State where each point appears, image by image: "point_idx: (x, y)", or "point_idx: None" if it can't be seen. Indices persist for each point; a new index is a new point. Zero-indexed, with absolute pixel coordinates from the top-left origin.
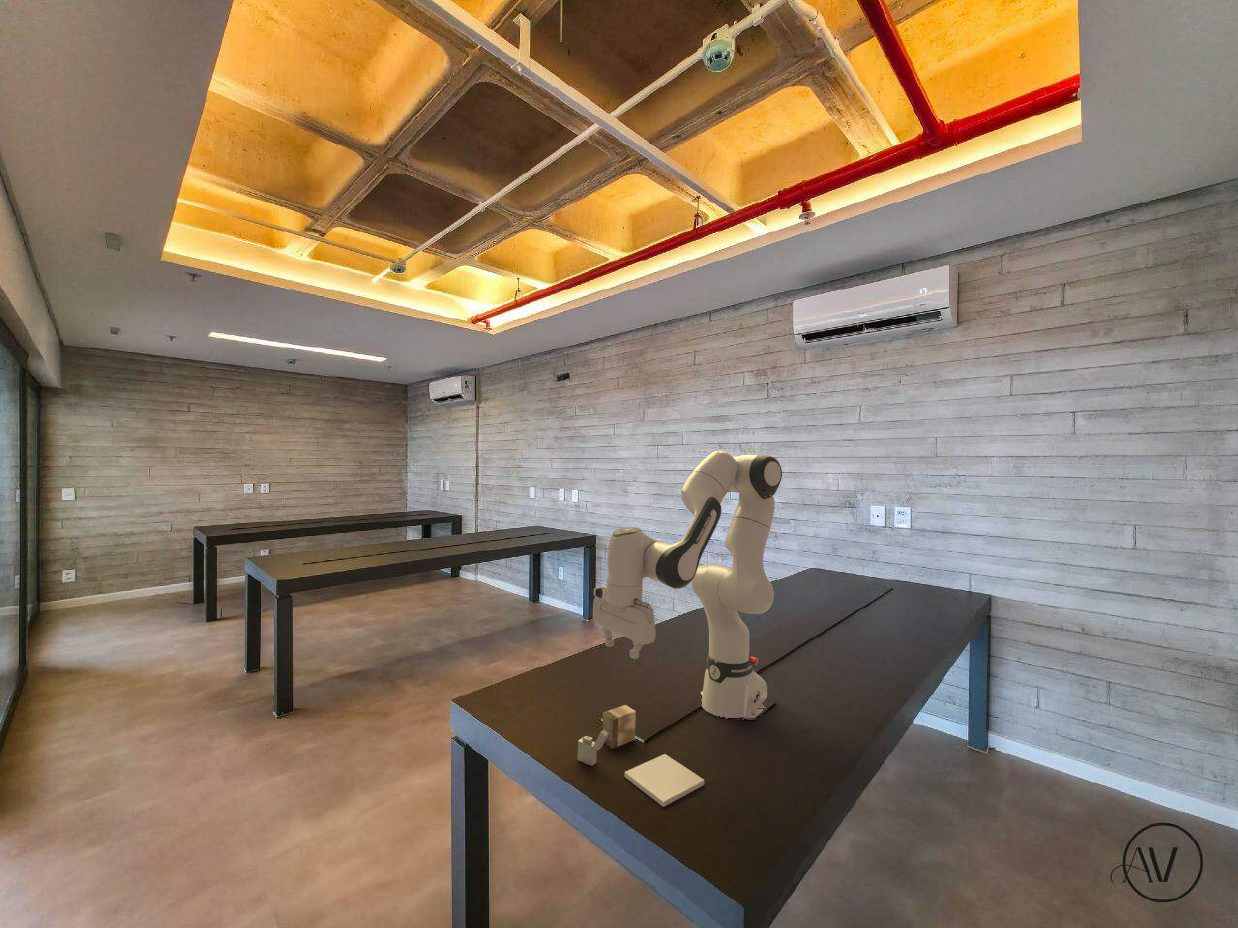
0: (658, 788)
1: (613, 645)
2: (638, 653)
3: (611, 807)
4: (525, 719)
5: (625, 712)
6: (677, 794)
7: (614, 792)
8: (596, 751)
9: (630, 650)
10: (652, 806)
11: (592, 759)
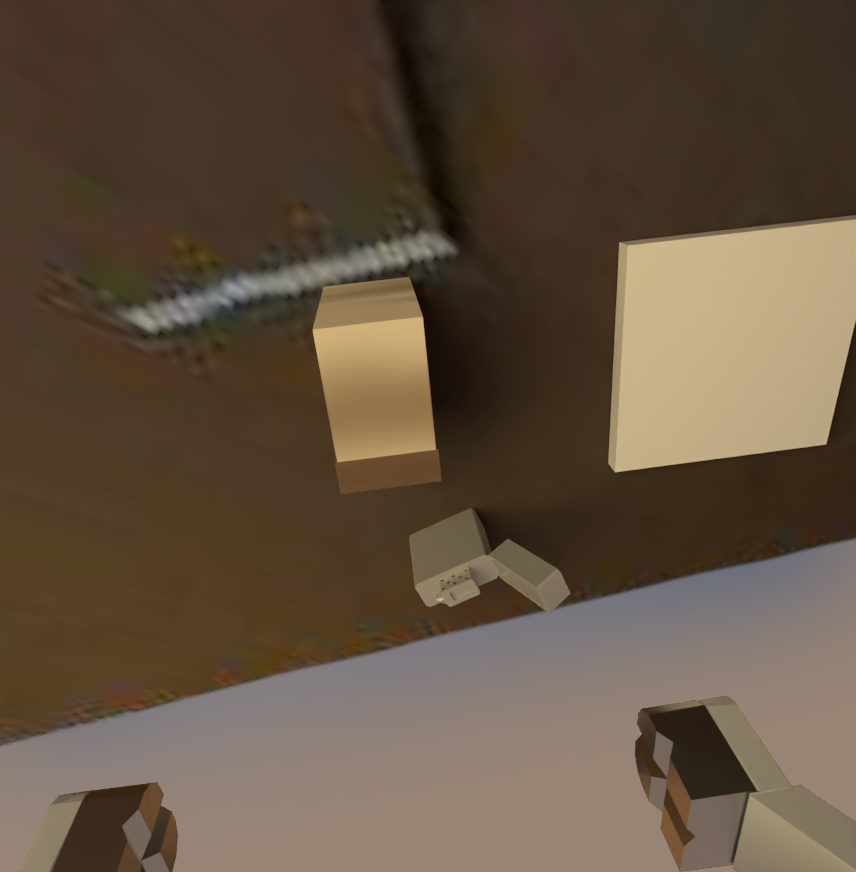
0: (769, 418)
1: (155, 790)
2: (761, 751)
3: (697, 565)
4: (30, 619)
5: (405, 383)
6: (841, 379)
7: (651, 529)
8: (482, 535)
9: (700, 868)
10: (785, 463)
11: (488, 542)
